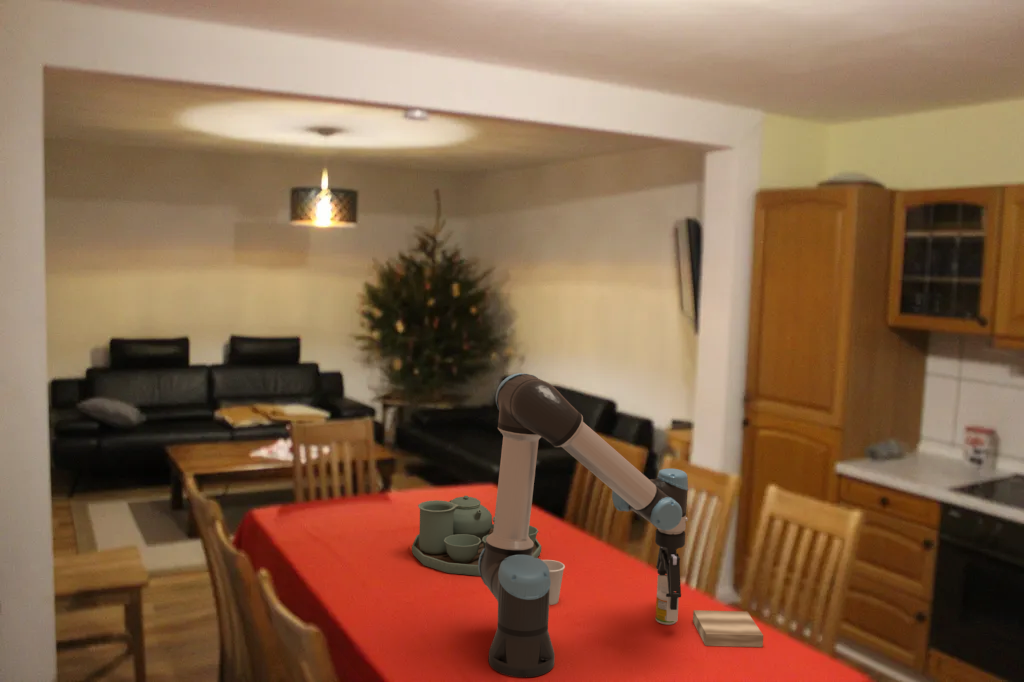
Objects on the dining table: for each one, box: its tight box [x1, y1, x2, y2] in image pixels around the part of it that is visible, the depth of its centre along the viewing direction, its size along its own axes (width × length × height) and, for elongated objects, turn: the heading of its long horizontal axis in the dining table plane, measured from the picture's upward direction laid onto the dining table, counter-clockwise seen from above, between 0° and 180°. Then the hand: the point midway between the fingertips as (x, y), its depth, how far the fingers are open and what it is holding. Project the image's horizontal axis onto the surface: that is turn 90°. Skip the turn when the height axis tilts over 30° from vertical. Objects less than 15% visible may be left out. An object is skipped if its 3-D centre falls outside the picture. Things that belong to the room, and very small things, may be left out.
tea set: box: [411, 495, 542, 577], centre depth 271 cm, size 40×40×16 cm
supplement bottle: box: [655, 582, 677, 626], centre depth 225 cm, size 5×5×10 cm
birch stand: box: [692, 609, 764, 648], centre depth 219 cm, size 14×14×3 cm
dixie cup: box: [541, 559, 566, 606], centre depth 235 cm, size 8×8×10 cm
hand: (666, 609), depth 225 cm, fingers open, 13 cm apart
